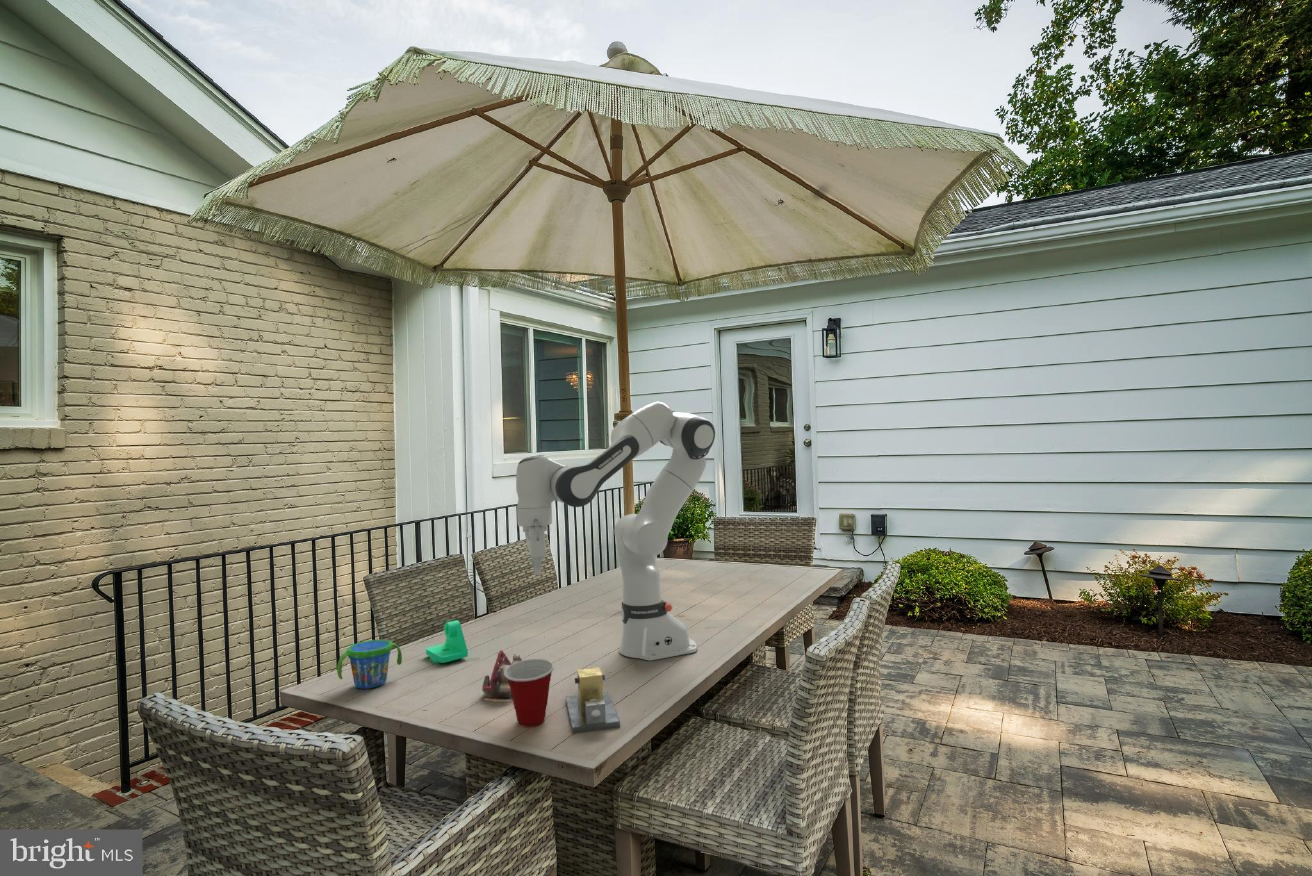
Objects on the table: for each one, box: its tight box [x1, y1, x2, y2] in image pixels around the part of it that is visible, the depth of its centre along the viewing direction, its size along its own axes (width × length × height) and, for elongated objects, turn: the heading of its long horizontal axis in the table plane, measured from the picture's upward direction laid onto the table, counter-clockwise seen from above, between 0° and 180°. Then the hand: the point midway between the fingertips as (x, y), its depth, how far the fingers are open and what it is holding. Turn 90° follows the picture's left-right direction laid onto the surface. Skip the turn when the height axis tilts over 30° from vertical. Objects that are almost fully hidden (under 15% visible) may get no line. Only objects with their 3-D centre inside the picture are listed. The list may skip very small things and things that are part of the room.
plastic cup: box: [504, 658, 555, 728], centre depth 139 cm, size 11×11×12 cm
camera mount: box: [425, 619, 469, 664], centre depth 183 cm, size 12×8×10 cm, turn 42°
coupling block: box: [574, 666, 606, 714], centre depth 142 cm, size 7×5×8 cm
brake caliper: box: [481, 649, 523, 703], centre depth 155 cm, size 11×10×11 cm
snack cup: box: [336, 639, 403, 690], centre depth 165 cm, size 16×10×10 cm
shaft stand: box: [565, 690, 621, 734], centre depth 142 cm, size 10×17×5 cm, turn 13°
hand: (536, 571), depth 165 cm, fingers open, 8 cm apart
